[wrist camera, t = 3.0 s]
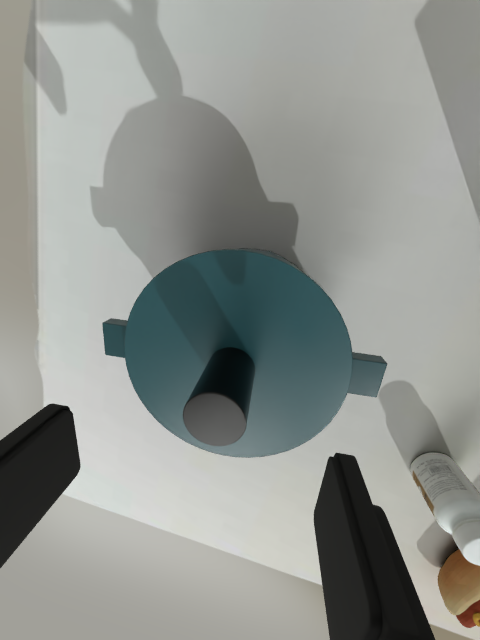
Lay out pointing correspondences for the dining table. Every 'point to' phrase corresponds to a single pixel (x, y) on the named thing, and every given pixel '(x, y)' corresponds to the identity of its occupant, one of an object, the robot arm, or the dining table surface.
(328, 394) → the lid
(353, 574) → the robot arm
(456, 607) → the food
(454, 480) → the pill bottle
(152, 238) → the dining table surface
